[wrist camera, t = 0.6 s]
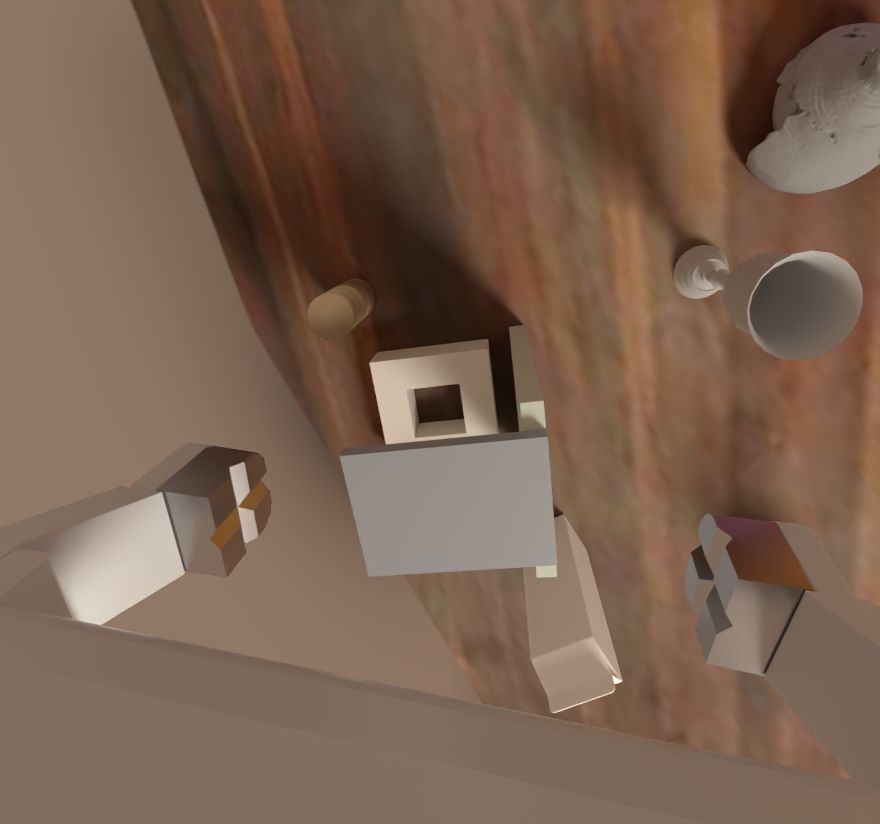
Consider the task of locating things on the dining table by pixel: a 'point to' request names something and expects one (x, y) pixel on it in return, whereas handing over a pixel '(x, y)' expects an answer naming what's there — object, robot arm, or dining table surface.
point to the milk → (569, 627)
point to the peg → (341, 308)
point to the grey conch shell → (824, 114)
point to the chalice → (779, 297)
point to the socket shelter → (454, 469)
